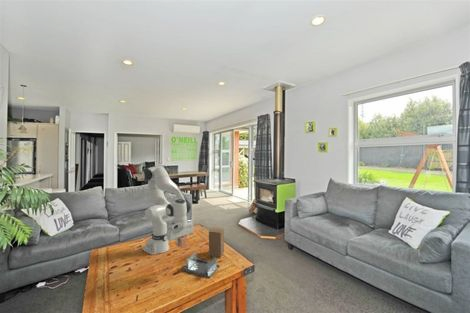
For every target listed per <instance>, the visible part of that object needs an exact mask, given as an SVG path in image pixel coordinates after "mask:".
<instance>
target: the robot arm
mask: <svg viewBox="0 0 470 313" xmlns="http://www.w3.org/2000/svg"><path fill="white" fill-rule="evenodd" d="M141 178H142V180H144V181H146V182H147V186H148V192H149V198H150V200H151V201H154V202H155V203H156V205H152V206H150V207H148V208H146V210H145V212H144V216H145V218H146V219H147V220H148V221H150V222H151V224H152V232H153V233H152V234H151V235H150V236H151V238H149V239H148V240H147V241H146V243H145V246H143V248H142V251H143V250H144V251H143V252H145V251H146V252H145V253H148V254H150V255H152V256H153V255H158V254H163V253H166V252H168V251H169V250H170V245H169V241H173V240H175V245H176V244H179V241H178V240H177V239H178V238H179V237H182V236H184V237H186V239H187V237H188V235H190V234H192V233H194V230H195V228H194V221H193V220H192V219H189V220H188V216H187V214H188V213H190V211H191V208H192V204H191V203H190V201H189V200H188V199H187V198H186V196H185V195H184V193H183V192H182V190H181V188H180V187H179V186H178V184H177V183H175V182H173V180H172V179H171V178H170V168H169V167H168V166H167V165H156V166H151V167H146V168H144V169H142V170H141ZM165 192H166V193H167V192H168V193H172V194H174V196H175V197H176V200H174V201H173V202H170V201H168V199H167V198H166V197H165V194H164V193H165ZM165 216H168V217H171V218H172V217H173V220H172V221H171V222H170V223H169V224H168V223H167V222H166V221H164V220H163V218H164V217H165Z"/></svg>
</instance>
